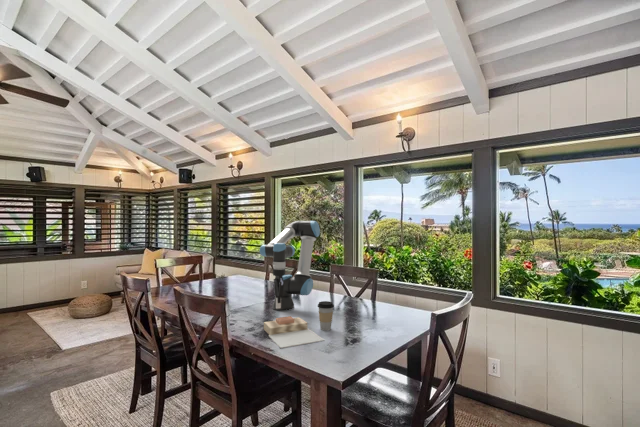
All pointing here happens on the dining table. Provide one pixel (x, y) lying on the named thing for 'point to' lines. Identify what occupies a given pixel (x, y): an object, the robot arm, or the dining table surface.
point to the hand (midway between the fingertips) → (278, 308)
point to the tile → (285, 320)
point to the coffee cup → (325, 315)
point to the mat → (295, 338)
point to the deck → (285, 326)
